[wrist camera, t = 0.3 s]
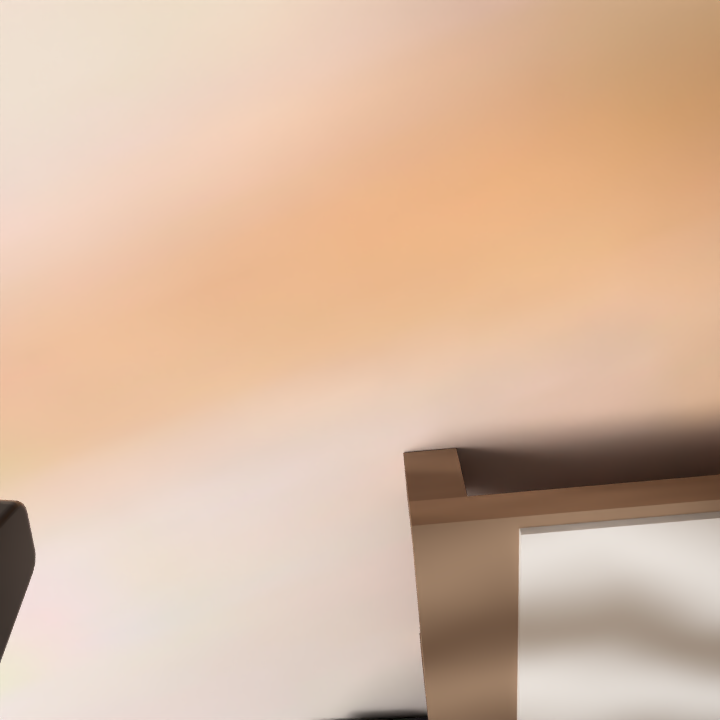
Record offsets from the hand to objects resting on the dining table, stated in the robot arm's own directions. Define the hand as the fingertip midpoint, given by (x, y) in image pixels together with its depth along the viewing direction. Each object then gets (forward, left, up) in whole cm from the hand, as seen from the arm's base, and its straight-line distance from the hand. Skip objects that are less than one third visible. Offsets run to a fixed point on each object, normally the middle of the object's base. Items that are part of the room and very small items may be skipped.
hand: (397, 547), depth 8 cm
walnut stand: (-15, -8, -14) cm, 23 cm away
